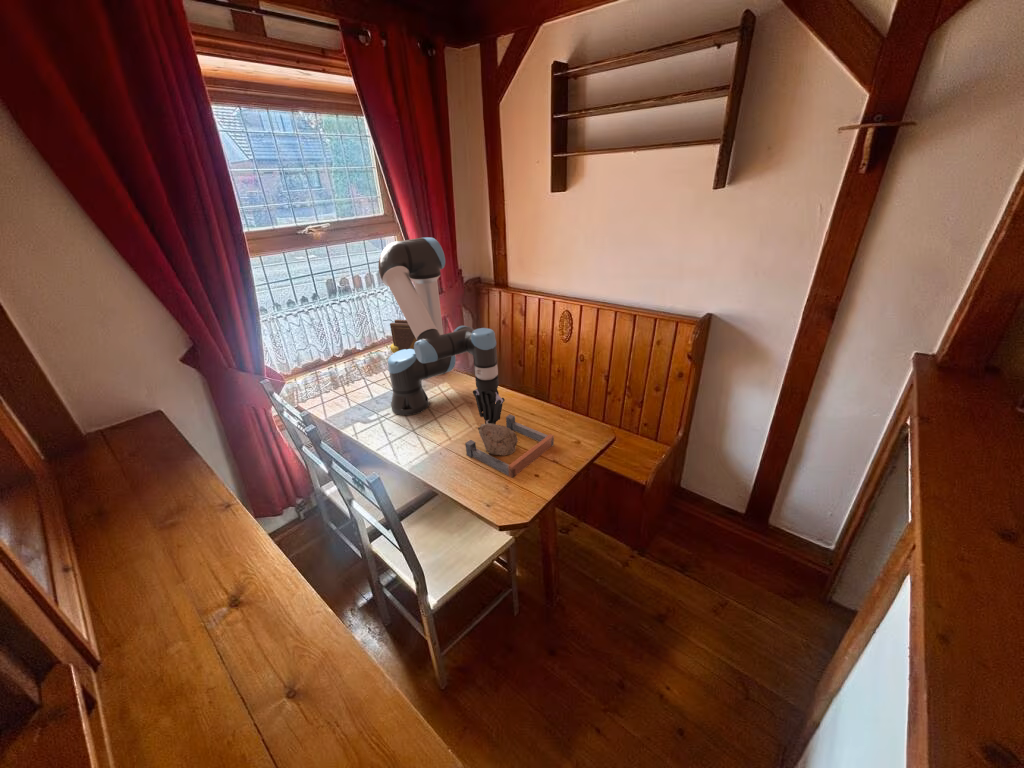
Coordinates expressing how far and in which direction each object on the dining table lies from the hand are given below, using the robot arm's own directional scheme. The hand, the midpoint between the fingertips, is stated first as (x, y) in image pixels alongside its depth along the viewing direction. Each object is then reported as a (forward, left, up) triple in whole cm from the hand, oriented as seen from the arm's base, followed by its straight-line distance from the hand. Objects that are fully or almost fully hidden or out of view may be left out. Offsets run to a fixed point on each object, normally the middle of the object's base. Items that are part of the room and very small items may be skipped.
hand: (491, 435), depth 149 cm
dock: (+9, 0, -2) cm, 9 cm away
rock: (+5, -3, -2) cm, 6 cm away
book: (-69, +21, -2) cm, 72 cm away
